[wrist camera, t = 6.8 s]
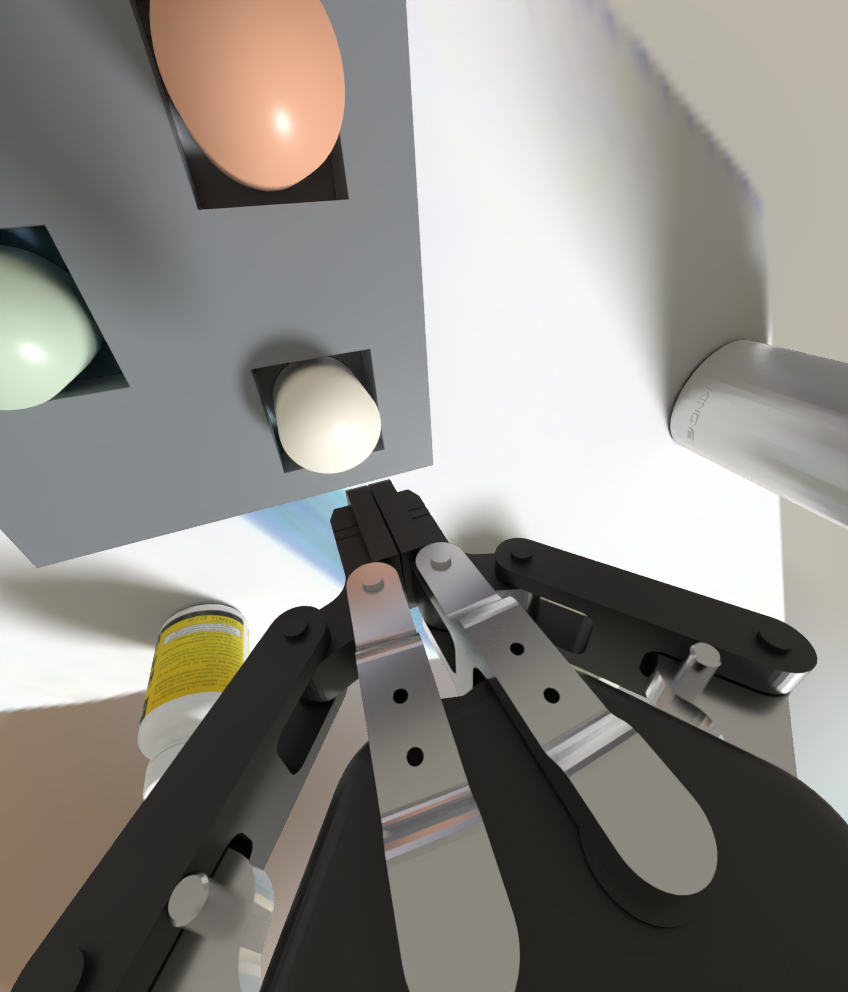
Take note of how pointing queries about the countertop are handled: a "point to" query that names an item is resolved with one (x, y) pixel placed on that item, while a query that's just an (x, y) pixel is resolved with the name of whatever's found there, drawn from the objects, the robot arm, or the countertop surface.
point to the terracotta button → (253, 83)
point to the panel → (199, 284)
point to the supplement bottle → (188, 679)
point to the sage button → (40, 329)
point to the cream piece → (324, 415)
